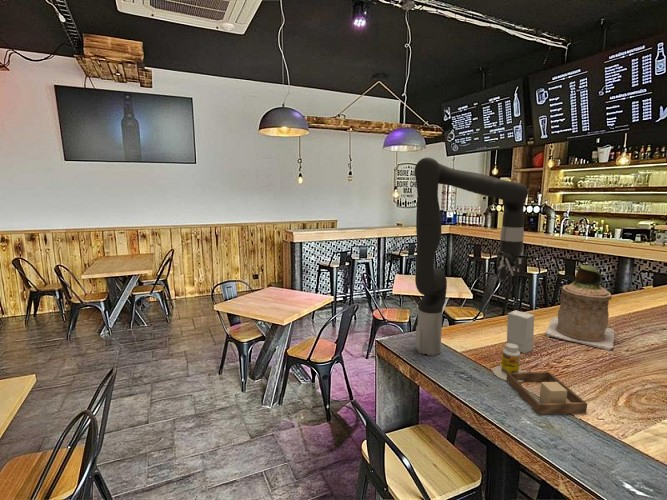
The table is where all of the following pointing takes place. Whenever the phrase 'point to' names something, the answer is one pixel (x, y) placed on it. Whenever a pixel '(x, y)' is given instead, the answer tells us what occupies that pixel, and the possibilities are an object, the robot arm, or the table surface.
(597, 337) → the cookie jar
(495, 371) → the coaster
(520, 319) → the skincare box
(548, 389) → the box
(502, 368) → the supplement bottle
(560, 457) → the table surface
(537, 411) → the wooden frame
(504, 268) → the robot arm
